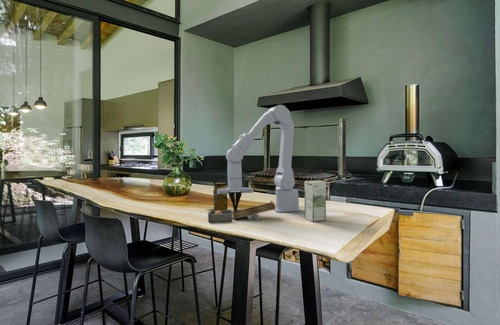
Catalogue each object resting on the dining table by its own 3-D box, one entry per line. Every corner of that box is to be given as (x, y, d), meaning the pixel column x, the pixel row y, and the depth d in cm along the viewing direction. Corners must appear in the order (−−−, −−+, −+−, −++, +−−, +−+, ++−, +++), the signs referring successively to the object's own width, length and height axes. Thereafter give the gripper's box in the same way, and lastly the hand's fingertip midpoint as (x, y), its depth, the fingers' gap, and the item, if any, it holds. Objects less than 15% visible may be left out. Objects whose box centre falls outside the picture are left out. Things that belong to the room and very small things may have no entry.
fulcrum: (259, 215, 126) (259, 208, 126) (261, 220, 118) (261, 212, 118) (247, 215, 126) (246, 208, 126) (248, 220, 118) (248, 213, 118)
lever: (270, 203, 132) (269, 197, 132) (275, 208, 120) (273, 202, 120) (233, 212, 131) (232, 207, 131) (234, 219, 119) (232, 213, 119)
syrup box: (317, 217, 120) (317, 179, 120) (326, 220, 115) (326, 181, 114) (304, 219, 118) (303, 180, 118) (312, 222, 113) (312, 182, 112)
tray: (231, 216, 125) (231, 207, 125) (231, 221, 117) (231, 212, 117) (209, 217, 124) (209, 208, 124) (208, 222, 116) (208, 213, 116)
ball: (222, 209, 123) (214, 209, 122) (222, 211, 120) (214, 211, 119) (222, 217, 123) (214, 217, 123) (222, 219, 120) (214, 219, 120)
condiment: (231, 210, 137) (230, 183, 137) (214, 213, 133) (213, 184, 132) (223, 208, 143) (222, 181, 143) (206, 210, 139) (205, 183, 138)
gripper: (251, 176, 133) (252, 208, 134) (217, 177, 132) (217, 209, 133) (253, 178, 126) (253, 211, 127) (216, 178, 125) (217, 213, 126)
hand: (235, 210), depth 130 cm, fingers closed
